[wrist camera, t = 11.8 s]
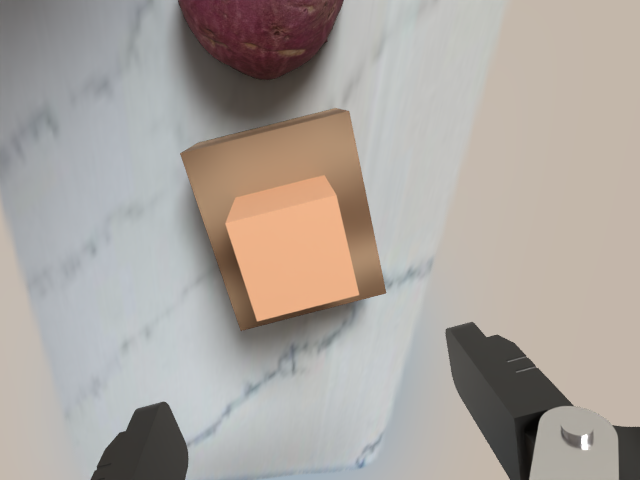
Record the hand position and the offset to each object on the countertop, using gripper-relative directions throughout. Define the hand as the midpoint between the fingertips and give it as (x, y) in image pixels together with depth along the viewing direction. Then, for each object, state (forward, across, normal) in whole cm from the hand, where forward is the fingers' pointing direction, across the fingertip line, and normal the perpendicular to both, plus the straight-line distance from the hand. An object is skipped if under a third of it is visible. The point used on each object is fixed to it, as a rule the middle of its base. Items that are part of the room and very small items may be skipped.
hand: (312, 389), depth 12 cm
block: (+16, 0, 0) cm, 16 cm away
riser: (+22, 0, 0) cm, 22 cm away
